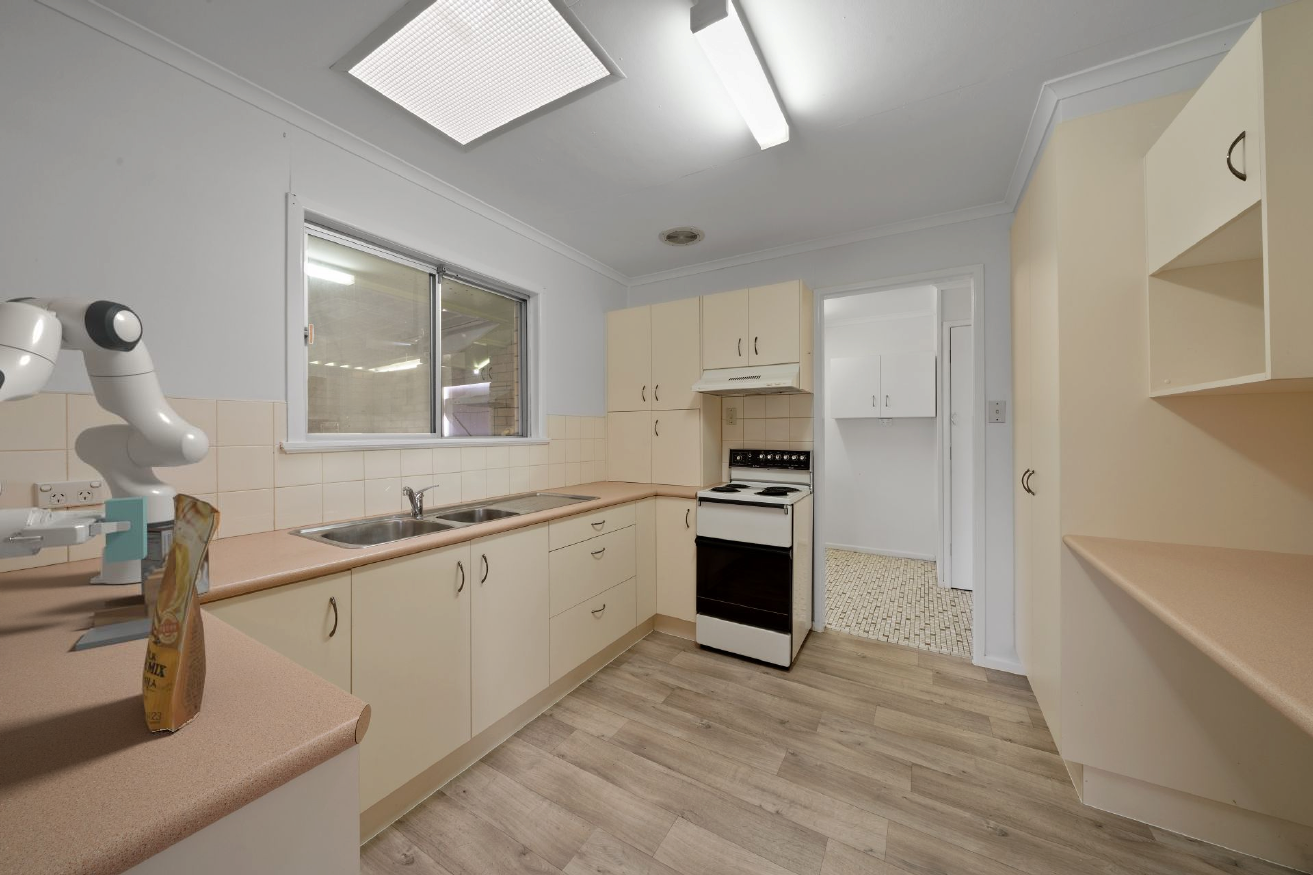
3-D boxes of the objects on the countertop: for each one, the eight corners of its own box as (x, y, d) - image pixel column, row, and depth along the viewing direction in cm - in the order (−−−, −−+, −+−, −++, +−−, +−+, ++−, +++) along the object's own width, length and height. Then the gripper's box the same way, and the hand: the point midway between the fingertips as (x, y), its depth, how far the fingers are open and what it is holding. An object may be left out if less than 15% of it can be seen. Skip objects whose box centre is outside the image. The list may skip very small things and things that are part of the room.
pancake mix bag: (205, 672, 73) (204, 490, 73) (223, 722, 60) (221, 502, 60) (140, 690, 68) (139, 494, 68) (145, 748, 55) (143, 508, 55)
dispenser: (106, 614, 96) (106, 571, 96) (186, 601, 104) (185, 561, 104) (94, 628, 89) (94, 581, 89) (180, 613, 97) (180, 570, 97)
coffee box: (189, 589, 112) (188, 521, 112) (210, 591, 111) (210, 522, 110) (139, 603, 103) (138, 529, 103) (162, 605, 102) (161, 530, 101)
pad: (90, 633, 87) (90, 628, 87) (160, 621, 93) (160, 616, 93) (75, 650, 80) (75, 644, 80) (152, 636, 86) (152, 630, 86)
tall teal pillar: (110, 558, 95) (110, 498, 95) (147, 554, 98) (146, 496, 98) (105, 563, 92) (105, 501, 92) (143, 558, 95) (143, 498, 95)
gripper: (-3, 523, 79) (121, 514, 88) (40, 508, 94) (142, 501, 103) (-2, 561, 79) (122, 548, 88) (41, 539, 95) (142, 530, 103)
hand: (133, 523), depth 96 cm, fingers closed on tall teal pillar, 4 cm apart
